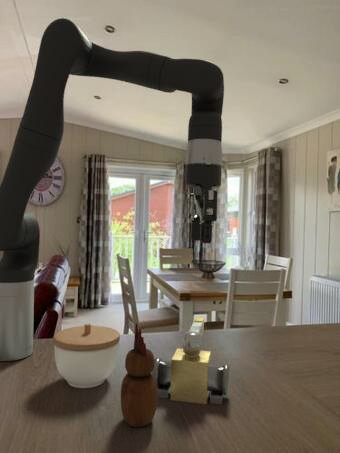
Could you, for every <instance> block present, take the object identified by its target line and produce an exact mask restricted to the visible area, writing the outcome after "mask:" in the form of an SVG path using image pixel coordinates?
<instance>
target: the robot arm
mask: <svg viewBox="0 0 340 453" xmlns="http://www.w3.org/2000/svg"><path fill="white" fill-rule="evenodd" d="M42 34H43V35H42V36H41V40H40V43H39V44H40V45H39V49H38V53H37V60H36V65H35V70H34V75H33V80H32V83H31V85H30V86H31V87H30V90H29V94H28V97H27V100H26V103H25V107H24V111H23V114H22V117H21V119H20V122H19V126H18V129H17V132H16V136H15V138H14V143H13V146H12V151H11V153H10V156H9V159H8V163H7V165H6V169H5V172H4V175H3V177H2V180H1V183H0V252H2V257H1V259H0V362H10V361H17V360H21V359H25V358H28V357H30V356H31V355H33V351H34V348H33V347H34V314H35V311H34V306H35V305H34V304H35V303H34V302H35V273H36V269H37V267H38V266H39V265H38V264H39V255H40V254H39V253H40V242H41V240H40V238H41V232H40V230H41V229H40V224H39V222H38V219H37V217H36V216H35V215H34V214H33V213H32V212H30V211H27V207H28V206H27V205H28V203H29V200H30V198H31V195H32V194H33V192H34V190H35V189H36V187H37V186H38V185H39V184H40V182H41V181H42V180H43V178H44V177H45V176H46V175H47V174H48V172H49V171H50V169H51V168H52V166H53V165H54V163H55V162H56V158H57V156H58V153H59V150H60V147H61V144H62V141H63V136H64V129H65V113H64V112H65V108H64V107H65V105H64V104H65V103H64V102H65V100H64V99H65V91H66V88H67V86H66V85H67V83H68V82H69V81H68V79H69V77H70V75H71V76H78V77H88V78H89V77H91V78H92V77H93V78H99V79H100V78H101V79H109V80H115V81H121V82H125V83H128V84H134V85H137V86H141V87H144V88H147V89H152V90H155V91H160V92H162V93H169V94H170V93H175V92H176V91H177V92H178V91H179V92H183V93H184V92H185V93H189V94H191V113H190V114H191V115H190V116H189V117H190V118H189V119H188V125H187V128H188V129H187V144H186V145H187V146H186V152H185V170H184V172H185V173H184V185H185V186H186V187H189V188H193V193H189V202H188V203H189V207H188V217H187V218H188V220H189V222H190V226H191V227H190V240H191V241H199V243H201V244H211V243H212V239H213V238H212V237H213V235H212V234H213V225H214V223H215V222H217V219H218V217H217V216H218V215H217V214H218V190H217V188H220V187H221V185H222V168H223V147H222V142H223V141H222V140H223V139H222V137H223V136H222V135H223V121H222V120H223V119H222V115H223V108H224V107H223V106H224V98H225V81H224V80H225V78H224V73H223V71H222V69H221V68H220V66H219V65H218V64H216V63H214V62H212V61H210V60H206V59H201V58H182V57H181V58H175V57H171V56H168V55H163V54H161V53H156V52H153V51H152V52H151V51H146V50H127V51H125V50H124V51H121V50H113V49H109V48H107V47H103V46H101V45H99V44H96V43H94V42H92V41H90V40H89V37H87V35H86V34H85V33H84V32H83V31H82V30H81V29H80V27H79V26H78V25H77V24H76V23H74V22H73V21H71V20H70V19H69V18H68V19H67V18H64V17H61V18H57V19H54V20H53V21H51V22H50V24H48V25H47V27H46V28H45V29H44V31H43V33H42ZM213 189H214V190H213Z"/></svg>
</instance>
